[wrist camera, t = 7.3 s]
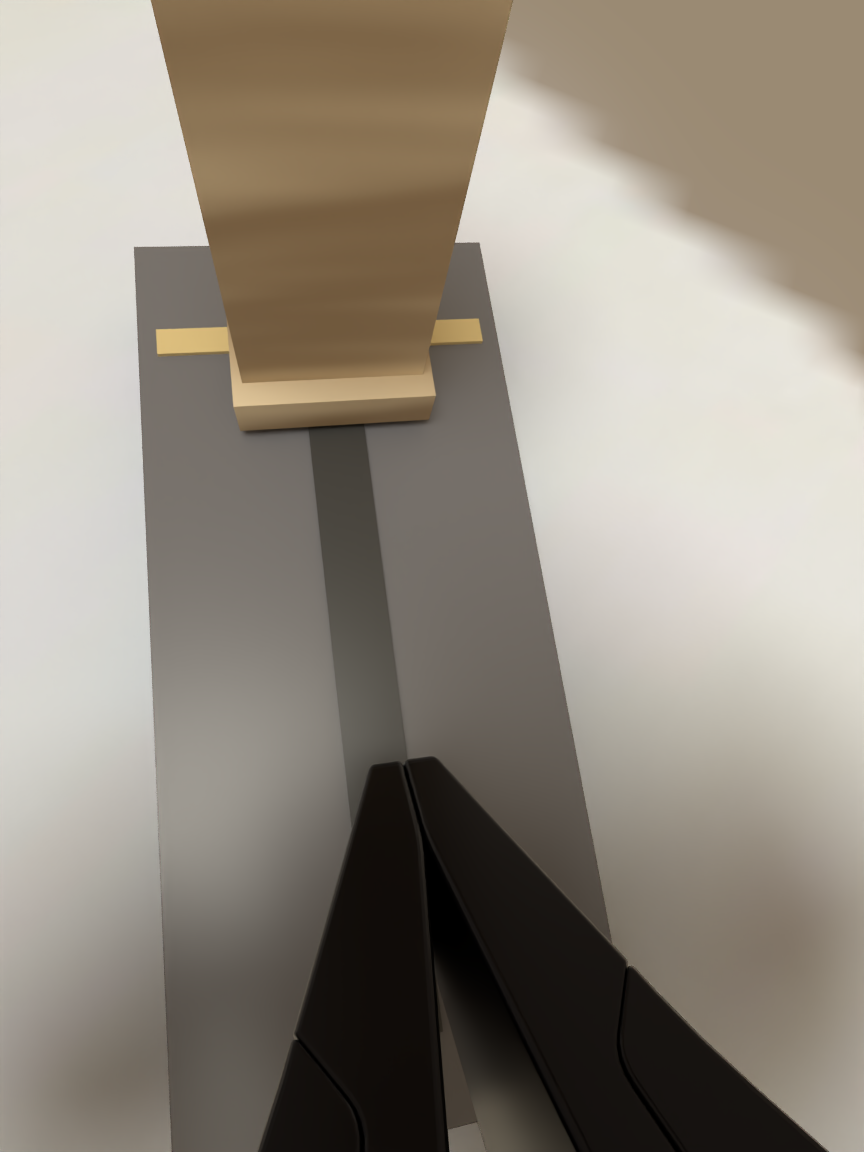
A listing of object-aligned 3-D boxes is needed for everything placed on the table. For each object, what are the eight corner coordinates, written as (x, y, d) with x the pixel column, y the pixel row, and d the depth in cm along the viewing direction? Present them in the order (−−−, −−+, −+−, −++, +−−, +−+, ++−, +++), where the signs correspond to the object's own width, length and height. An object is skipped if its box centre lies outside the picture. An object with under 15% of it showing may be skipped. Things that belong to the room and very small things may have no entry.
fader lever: (442, 418, 15) (786, -624, 4) (225, 431, 14) (-200, -870, 3) (423, 301, 15) (662, -872, 4) (215, 306, 14) (-151, -1122, 3)
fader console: (595, 1035, 14) (640, 1083, 12) (198, 1131, 12) (172, 1202, 10) (463, 296, 18) (480, 239, 16) (156, 304, 17) (132, 243, 15)
